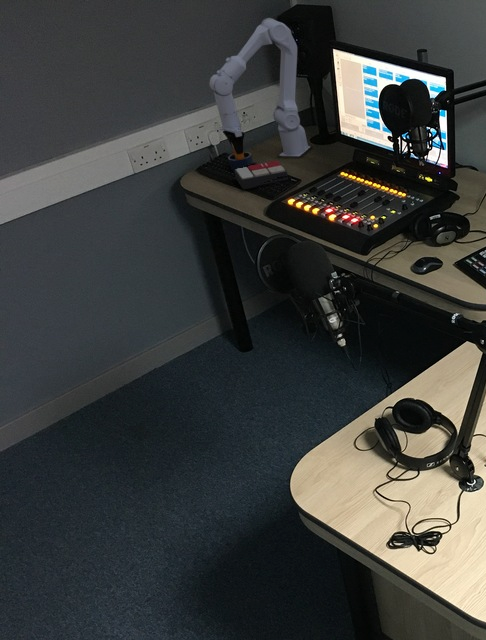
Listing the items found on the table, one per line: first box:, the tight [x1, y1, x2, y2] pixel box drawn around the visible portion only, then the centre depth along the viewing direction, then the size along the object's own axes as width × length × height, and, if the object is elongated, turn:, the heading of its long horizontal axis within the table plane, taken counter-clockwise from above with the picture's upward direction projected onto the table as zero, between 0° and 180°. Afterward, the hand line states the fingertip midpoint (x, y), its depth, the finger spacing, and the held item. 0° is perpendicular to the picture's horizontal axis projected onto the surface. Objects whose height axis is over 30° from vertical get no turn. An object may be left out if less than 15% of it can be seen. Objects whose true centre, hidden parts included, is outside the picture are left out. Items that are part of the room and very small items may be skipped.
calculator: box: [233, 160, 289, 190], centre depth 278 cm, size 11×4×15 cm
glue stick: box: [231, 142, 245, 160], centre depth 287 cm, size 3×3×8 cm
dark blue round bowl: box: [227, 151, 255, 171], centre depth 289 cm, size 8×8×4 cm
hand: (238, 152), depth 287 cm, fingers closed on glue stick, 3 cm apart
